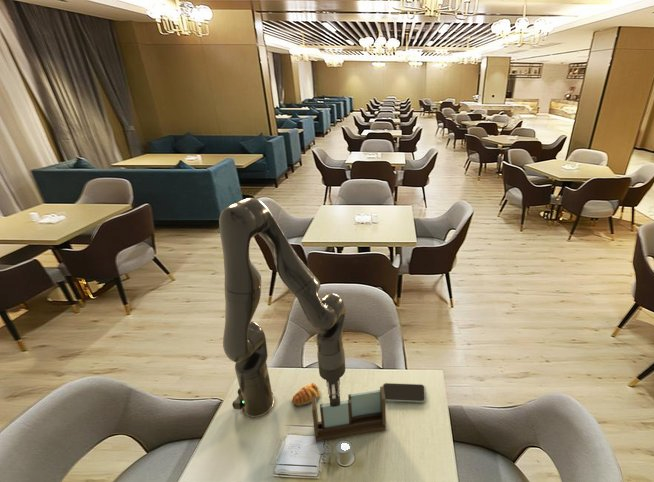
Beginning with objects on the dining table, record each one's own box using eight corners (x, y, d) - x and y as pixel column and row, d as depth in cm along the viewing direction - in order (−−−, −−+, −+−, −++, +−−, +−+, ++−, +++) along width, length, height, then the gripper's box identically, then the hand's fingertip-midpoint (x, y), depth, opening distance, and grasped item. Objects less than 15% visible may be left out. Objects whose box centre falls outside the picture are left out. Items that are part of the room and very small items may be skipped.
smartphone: (425, 401, 122) (381, 399, 122) (424, 403, 122) (381, 401, 122) (424, 384, 129) (383, 382, 129) (424, 386, 129) (383, 384, 129)
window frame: (315, 425, 114) (312, 395, 108) (382, 414, 118) (382, 385, 112) (315, 442, 109) (311, 411, 103) (385, 430, 113) (385, 400, 107)
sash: (322, 425, 112) (318, 391, 105) (351, 420, 113) (349, 387, 107) (322, 430, 110) (318, 396, 104) (351, 425, 112) (349, 391, 105)
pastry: (297, 411, 118) (296, 403, 117) (289, 398, 123) (288, 390, 122) (322, 397, 124) (321, 389, 122) (313, 385, 129) (312, 377, 127)
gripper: (318, 344, 105) (322, 386, 113) (317, 379, 93) (322, 424, 100) (343, 341, 107) (346, 383, 114) (346, 375, 95) (349, 420, 102)
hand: (335, 402), depth 107 cm, fingers closed on sash, 2 cm apart
